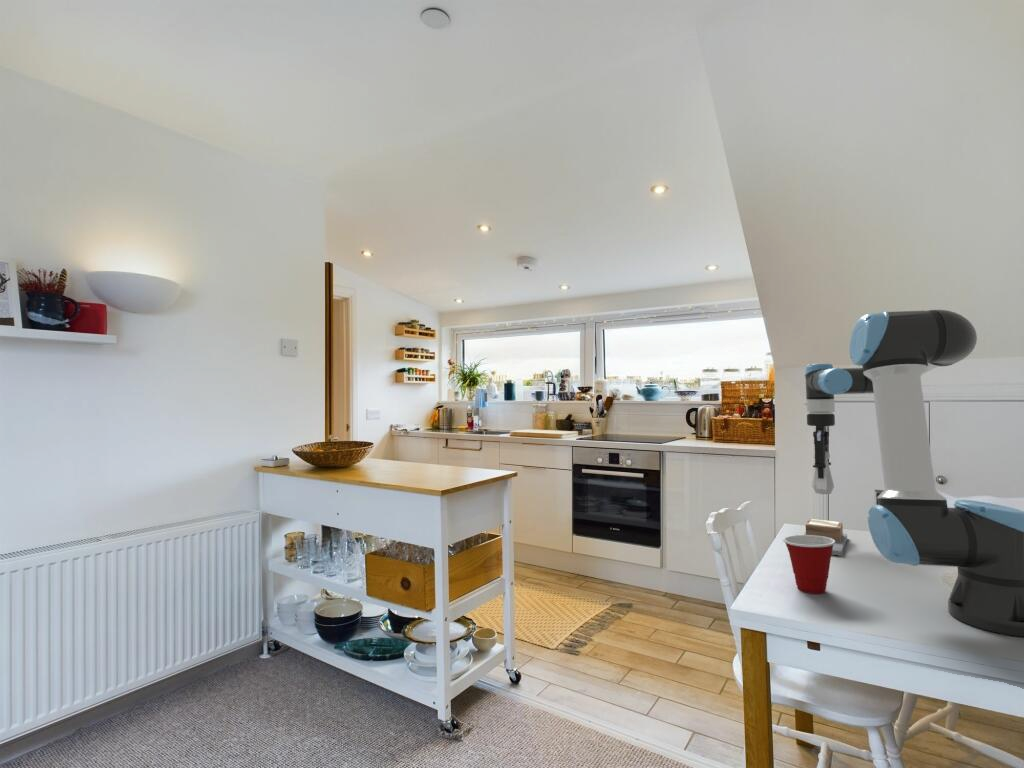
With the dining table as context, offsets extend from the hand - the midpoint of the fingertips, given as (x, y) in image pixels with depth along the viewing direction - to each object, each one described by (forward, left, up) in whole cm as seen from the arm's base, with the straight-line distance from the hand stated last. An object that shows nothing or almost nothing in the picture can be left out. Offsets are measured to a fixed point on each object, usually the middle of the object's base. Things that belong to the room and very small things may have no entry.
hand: (822, 487), depth 162 cm
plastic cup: (-44, -18, -17) cm, 50 cm away
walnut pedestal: (0, 0, -15) cm, 15 cm away
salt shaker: (0, 0, -2) cm, 2 cm away
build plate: (-4, -1, -17) cm, 17 cm away
